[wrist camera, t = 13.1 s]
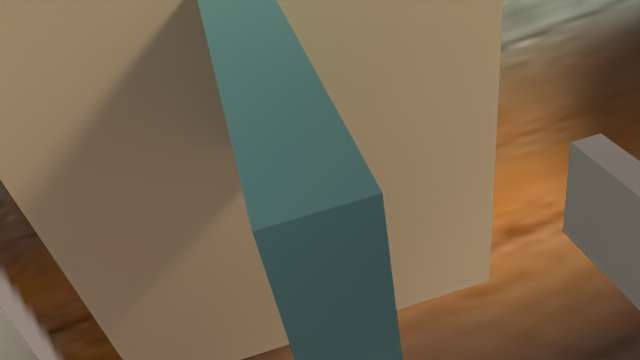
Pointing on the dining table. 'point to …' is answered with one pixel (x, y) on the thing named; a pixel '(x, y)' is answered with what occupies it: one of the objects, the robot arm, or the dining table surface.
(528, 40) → the dining table surface
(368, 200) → the flap
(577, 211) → the robot arm
